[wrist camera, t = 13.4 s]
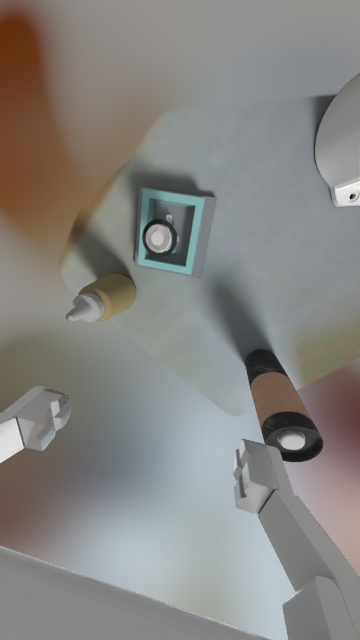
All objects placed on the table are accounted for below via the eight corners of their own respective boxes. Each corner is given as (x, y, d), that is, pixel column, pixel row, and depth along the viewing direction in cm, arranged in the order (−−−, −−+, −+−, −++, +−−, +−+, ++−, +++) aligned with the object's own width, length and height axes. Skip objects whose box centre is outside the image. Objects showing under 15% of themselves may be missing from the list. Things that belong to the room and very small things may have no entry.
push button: (156, 216, 35) (137, 207, 26) (185, 215, 34) (174, 205, 25) (158, 254, 38) (141, 257, 29) (185, 253, 37) (176, 257, 28)
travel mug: (241, 372, 47) (258, 456, 28) (248, 345, 44) (273, 420, 25) (273, 377, 46) (312, 468, 28) (282, 351, 43) (334, 432, 24)
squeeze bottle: (117, 263, 41) (54, 277, 25) (147, 285, 42) (105, 314, 26) (102, 291, 44) (36, 320, 28) (130, 312, 45) (83, 352, 29)
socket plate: (216, 199, 34) (216, 193, 30) (200, 276, 39) (199, 280, 36) (141, 187, 35) (132, 181, 31) (136, 264, 41) (128, 267, 37)
